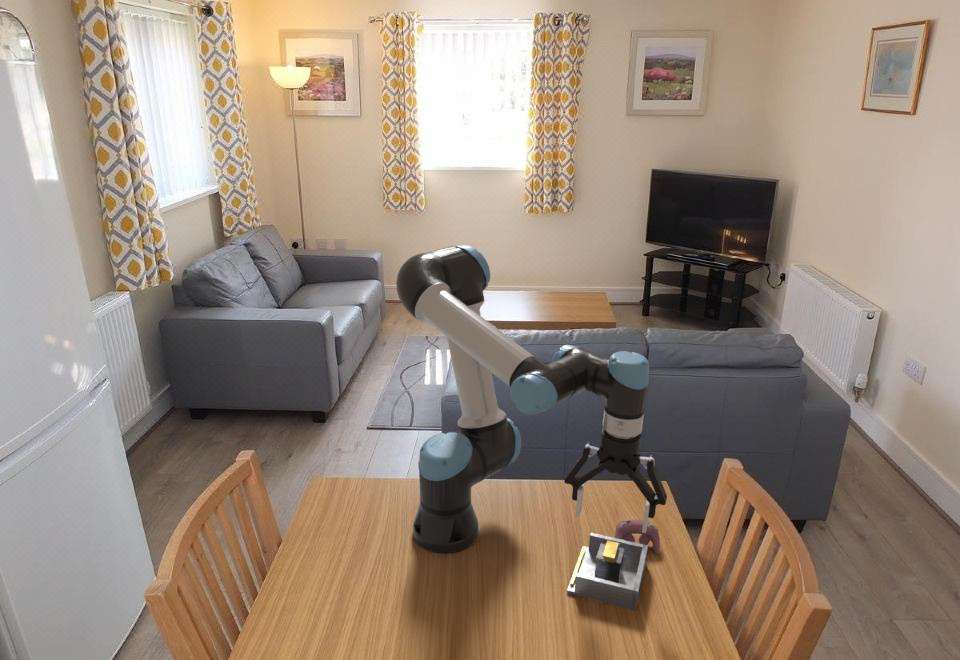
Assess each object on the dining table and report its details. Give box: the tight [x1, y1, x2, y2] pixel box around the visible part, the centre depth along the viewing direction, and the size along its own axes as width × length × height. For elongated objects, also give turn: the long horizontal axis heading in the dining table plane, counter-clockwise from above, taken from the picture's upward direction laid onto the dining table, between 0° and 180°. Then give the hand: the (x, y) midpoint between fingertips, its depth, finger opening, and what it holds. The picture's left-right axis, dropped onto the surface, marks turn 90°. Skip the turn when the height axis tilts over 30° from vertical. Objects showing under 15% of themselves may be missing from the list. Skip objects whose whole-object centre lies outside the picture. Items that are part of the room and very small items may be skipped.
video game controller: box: [614, 519, 661, 555], centre depth 155 cm, size 10×5×7 cm, turn 85°
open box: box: [566, 532, 649, 612], centre depth 145 cm, size 14×15×5 cm
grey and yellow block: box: [595, 540, 624, 583], centre depth 144 cm, size 5×5×7 cm
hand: (611, 521), depth 141 cm, fingers open, 13 cm apart
